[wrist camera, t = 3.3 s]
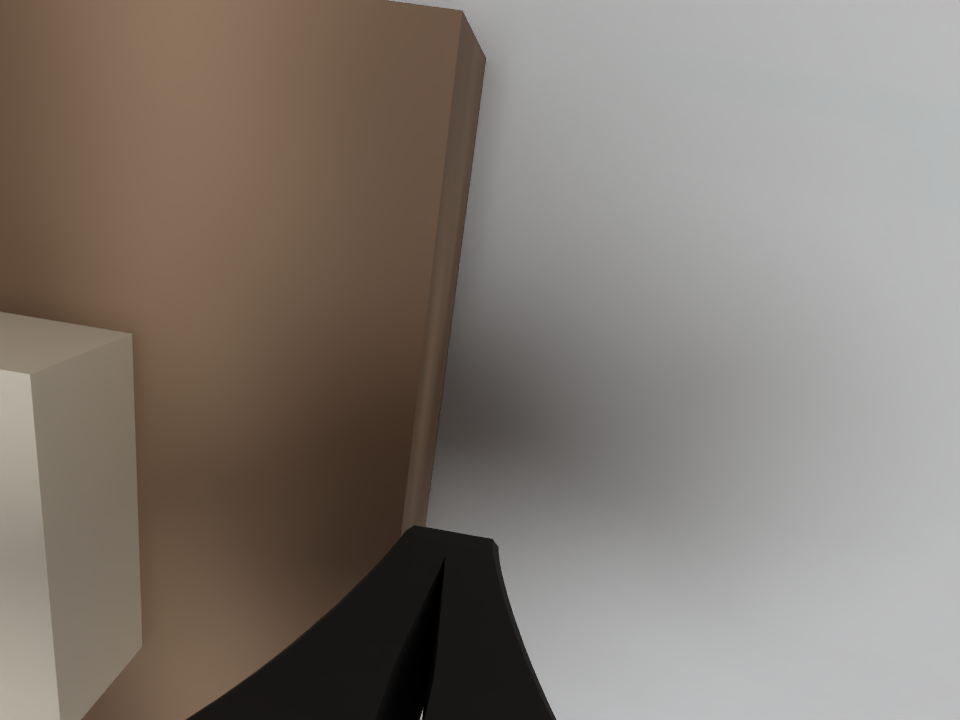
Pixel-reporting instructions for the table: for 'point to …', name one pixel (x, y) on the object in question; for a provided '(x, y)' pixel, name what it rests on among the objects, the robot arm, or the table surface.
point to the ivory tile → (66, 516)
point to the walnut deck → (246, 288)
